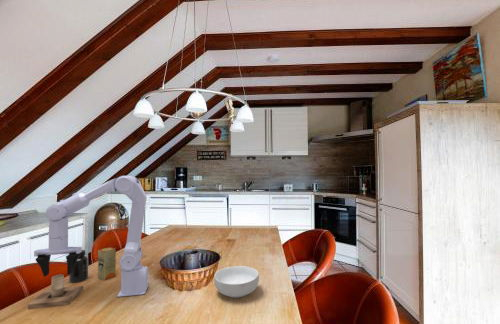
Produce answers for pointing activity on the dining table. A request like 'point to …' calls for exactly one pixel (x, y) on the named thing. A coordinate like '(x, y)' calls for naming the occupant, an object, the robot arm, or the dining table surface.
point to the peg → (57, 286)
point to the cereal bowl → (236, 280)
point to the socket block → (47, 301)
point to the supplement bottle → (79, 269)
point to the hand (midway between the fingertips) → (58, 274)
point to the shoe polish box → (106, 263)
